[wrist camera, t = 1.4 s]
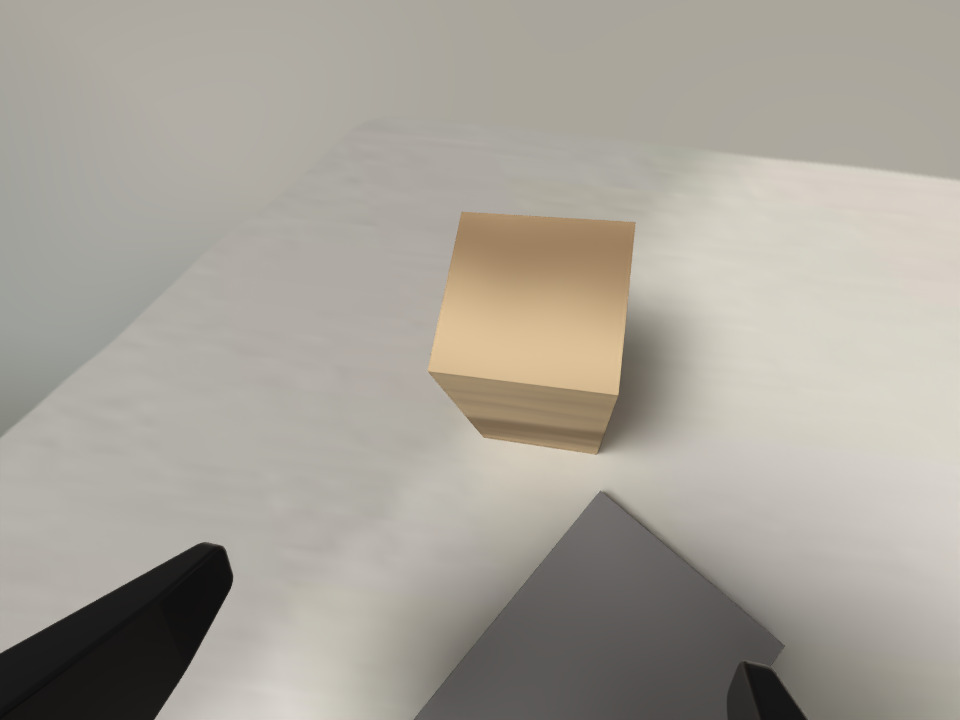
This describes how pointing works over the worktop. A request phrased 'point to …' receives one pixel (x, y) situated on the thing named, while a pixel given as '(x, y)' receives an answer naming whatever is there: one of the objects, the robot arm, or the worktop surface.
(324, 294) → the worktop surface
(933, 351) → the worktop surface
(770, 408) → the worktop surface
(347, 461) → the worktop surface
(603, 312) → the oak block
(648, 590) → the charcoal mat
